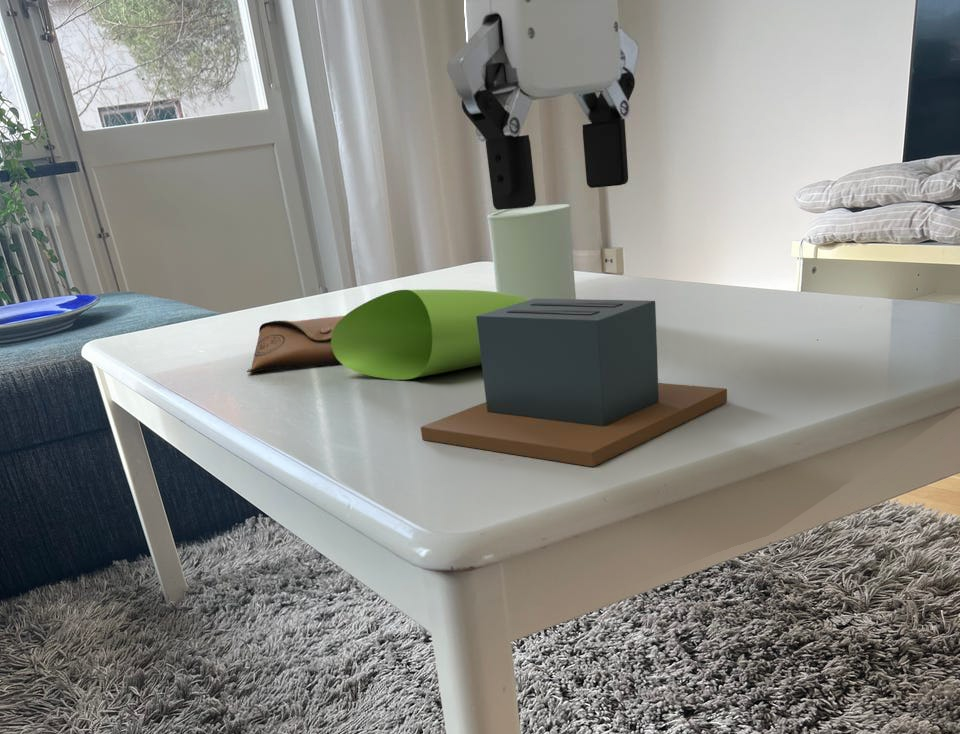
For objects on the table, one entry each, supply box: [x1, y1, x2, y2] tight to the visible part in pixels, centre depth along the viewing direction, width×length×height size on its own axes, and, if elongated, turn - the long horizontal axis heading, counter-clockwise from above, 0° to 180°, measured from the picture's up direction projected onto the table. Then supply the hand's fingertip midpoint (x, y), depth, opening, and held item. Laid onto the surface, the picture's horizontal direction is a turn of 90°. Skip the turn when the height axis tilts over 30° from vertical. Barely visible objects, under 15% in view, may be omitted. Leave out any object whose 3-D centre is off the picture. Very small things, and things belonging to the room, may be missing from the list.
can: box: [486, 203, 577, 300], centre depth 109 cm, size 9×9×12 cm
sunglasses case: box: [246, 315, 345, 373], centre depth 104 cm, size 18×7×7 cm
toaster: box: [476, 298, 659, 426], centre depth 70 cm, size 12×6×7 cm, turn 47°
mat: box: [420, 382, 728, 468], centre depth 72 cm, size 16×16×1 cm
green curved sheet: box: [331, 288, 528, 381], centre depth 91 cm, size 8×12×20 cm
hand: (563, 196), depth 65 cm, fingers open, 9 cm apart
